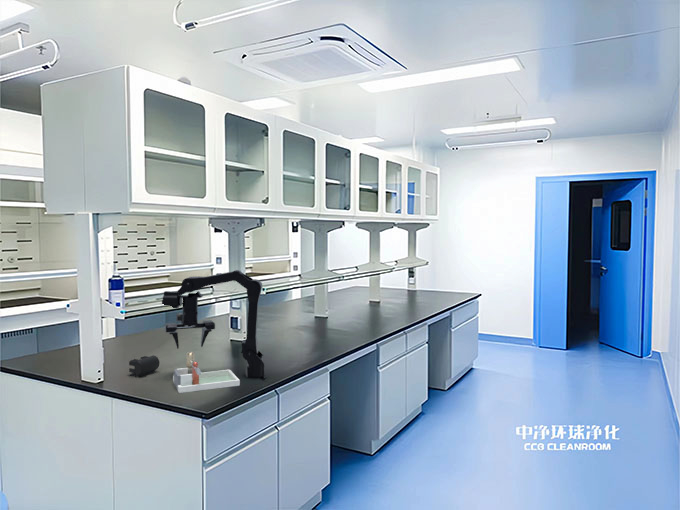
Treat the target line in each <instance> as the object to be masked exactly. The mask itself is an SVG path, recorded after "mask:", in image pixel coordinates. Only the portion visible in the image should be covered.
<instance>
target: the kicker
mask: <svg viewBox="0 0 680 510" xmlns="http://www.w3.org/2000/svg"><path fill="white" fill-rule="evenodd" d="M185 355H186V359H185V360H186V364H185V365H186V367H185V368H188V370H191V374H192V378H193V385H197V384H199V375H201V373H202V370H201V369H200V368H199V367H198V366H199V363H198V362H197V361H195V352H194V351H187V352H186V354H185Z"/></svg>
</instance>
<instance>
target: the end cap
mask: <svg viewBox="0 0 680 510" xmlns="http://www.w3.org/2000/svg"><path fill="white" fill-rule="evenodd" d="M128 365H129V366H130V367H129V369H128V372H129V376H130V377H136V378H139V377H141V376H144V375H148V374H150V373H153V372H155V371H156V370H158V369H159V367H160V360H159V358H158V356H157V355H151V356H150V355H149V356H147V355H146V356H145V355H144V356H141V357H140V358H139V359H137V358H134V359H131V360H129V361H128ZM131 366H133V367H134V368H131Z"/></svg>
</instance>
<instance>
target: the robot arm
mask: <svg viewBox="0 0 680 510" xmlns="http://www.w3.org/2000/svg"><path fill="white" fill-rule="evenodd" d="M234 281H235V282H237V283H238V284H239V285H240V286H241V287H243V288H244V289H246V295H247V296H246V297H247V300H248V301H247V302H248V306H247V307H248V311H247V328H246V329H247V330H246V339H243V340H242V342H241V351H240V353H241V354H242V357H243V359H244V360H245V361H247V362H246V366H245V377H246V378H248V379H249V378H250V379H251V378H253V379H257V378H258V379H260V380H266V376H265V362H264V354H263V353H262V352H261V351H260V350H259V343H258V337H257V330H258V318H259V317H258V314H259V302H260V298H261V294H262V290H263V283H262V282H261V281H260V280H259V279H256V278H254V279H253V278H252V277H250V276H249V275H247V274H245V273H244V272H242V271H241V270H239V269H235V270H233V271H228V272H223V273H218V274H213V275H207V276H188V277H186V278H184V279H183V280H182V281H181V286H180V288H179V289H178V290H177V291H169V290H165V291H164V292H163V296H162V299H161V305H162V304H164V305H170V306H172V307H173V308H176V310H177V309H179V308H180V307H181V306H182V312H178V313H176V318H175V319H176V322H175V321H174V322H165V324H164V327H163V328H164V331H165V333H168V334H169V335H171V336H172V337H173V340H174V343H175V346H176V348H177V350H179V349H180V348H179V335H178V332H177V330H184V329H187V330H188V329H189V330H190V329H200V328H201V336H200V338H201V339H200V347H201V348H202V347H203V346H204V344H205V341H206V339H207V337H208V335H209V333H210V332H212V331H213V330H215V329H216V323H215V321H213V320H210V319H209V320H208V319H207V320H203V321H202V322H198V319H199V317H198V316H199V314H198V311H199V309H198V305H199V300H198V299H199V298H200V299H201V298H203V297H204V294H202V293H201V292H200V291H199V290H200V289H203V288H205V287H208V286H212V285H213V286H214V285H217V284H223V283H228V282H234ZM194 291H196V292H195V293H194ZM186 293H187V295H184V294H186ZM177 322H180V324H178V323H177Z"/></svg>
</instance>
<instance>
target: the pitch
mask: <svg viewBox="0 0 680 510" xmlns="http://www.w3.org/2000/svg"><path fill="white" fill-rule="evenodd" d="M172 382H173V385H174V386H175V388H176V391H177V392H178V394H182V393H183V394H185V393H193V392H198V391H206V390H207V391H208V390H214V389H215V390H217V389H222V388H230V387H239V386H240V385H241V384H240V383H241V380H240V379H239V378H238V376H236V374H235V373H234V372H233V371H232V370H231V369H230V368H229V369H222V370H212V371H204V372H202V371H201V375H199V384H197V385H192V373H189V369H188V368H186V367H183V368H182V367H180V368H174V369H173V375H172Z"/></svg>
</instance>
